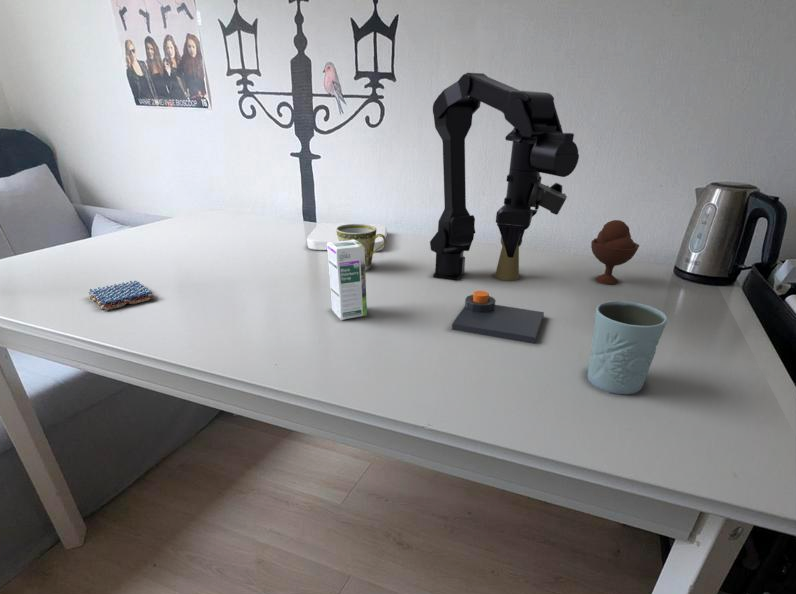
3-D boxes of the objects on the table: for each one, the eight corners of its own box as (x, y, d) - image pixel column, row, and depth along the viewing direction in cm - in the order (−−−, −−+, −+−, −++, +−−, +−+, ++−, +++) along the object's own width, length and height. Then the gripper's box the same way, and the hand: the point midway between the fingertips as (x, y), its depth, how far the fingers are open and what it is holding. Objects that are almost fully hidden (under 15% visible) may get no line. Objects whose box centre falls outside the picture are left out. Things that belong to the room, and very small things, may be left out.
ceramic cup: (331, 270, 124) (328, 230, 119) (350, 259, 132) (348, 222, 127) (377, 277, 120) (376, 236, 115) (393, 266, 128) (393, 227, 123)
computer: (382, 252, 138) (382, 242, 137) (305, 250, 138) (304, 240, 137) (387, 233, 157) (387, 224, 156) (319, 231, 157) (319, 222, 156)
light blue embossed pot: (639, 404, 74) (661, 332, 67) (573, 384, 78) (588, 315, 72) (650, 376, 81) (672, 309, 75) (589, 359, 85) (605, 295, 79)
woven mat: (139, 286, 110) (137, 278, 109) (157, 300, 104) (154, 291, 103) (88, 297, 104) (85, 288, 103) (103, 312, 98) (100, 303, 97)
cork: (520, 274, 125) (526, 231, 119) (516, 281, 120) (523, 236, 114) (497, 271, 126) (502, 228, 121) (492, 278, 121) (497, 234, 116)
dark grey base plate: (451, 329, 95) (452, 315, 93) (468, 305, 106) (469, 292, 104) (534, 344, 90) (536, 329, 89) (543, 317, 101) (545, 303, 100)
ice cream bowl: (633, 290, 117) (650, 226, 109) (585, 285, 118) (598, 223, 111) (626, 276, 126) (641, 216, 118) (581, 272, 127) (593, 213, 120)
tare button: (471, 302, 100) (471, 294, 99) (474, 297, 103) (475, 289, 102) (486, 305, 99) (487, 296, 98) (489, 299, 102) (490, 291, 101)
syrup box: (341, 321, 97) (336, 248, 89) (331, 310, 101) (326, 240, 94) (367, 316, 99) (365, 245, 92) (356, 306, 104) (354, 237, 96)
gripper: (565, 179, 82) (549, 269, 90) (570, 166, 97) (557, 244, 105) (500, 174, 85) (490, 262, 93) (515, 162, 100) (506, 238, 108)
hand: (513, 251), depth 100 cm, fingers open, 9 cm apart
